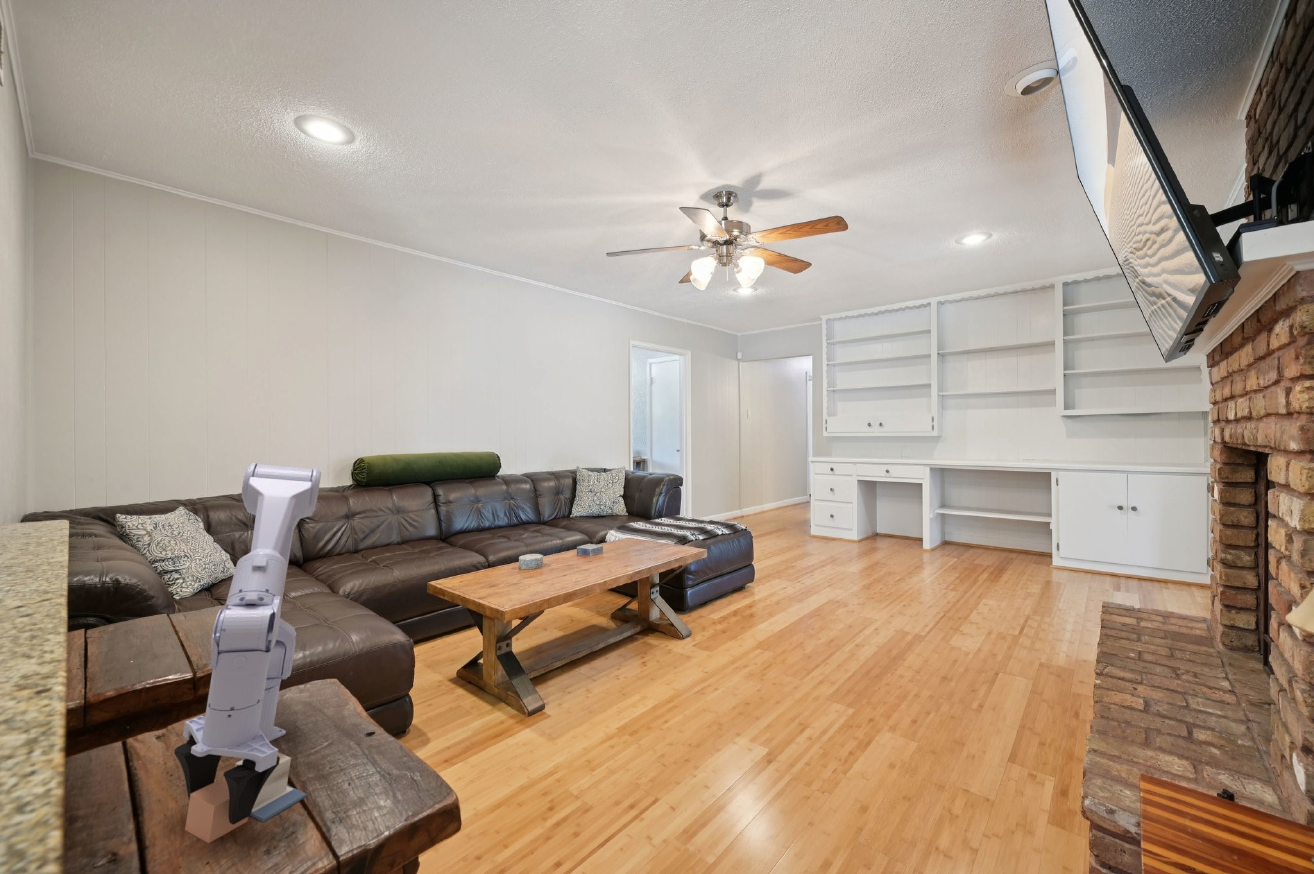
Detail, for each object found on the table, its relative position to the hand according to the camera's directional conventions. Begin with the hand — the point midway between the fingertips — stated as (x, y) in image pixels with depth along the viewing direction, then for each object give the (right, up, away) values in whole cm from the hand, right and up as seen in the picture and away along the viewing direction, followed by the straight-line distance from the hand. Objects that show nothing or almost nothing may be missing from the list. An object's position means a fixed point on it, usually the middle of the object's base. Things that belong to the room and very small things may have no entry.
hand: (219, 808), depth 69 cm
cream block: (+1, -2, +6) cm, 6 cm away
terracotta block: (0, -2, 0) cm, 2 cm away
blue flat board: (+1, -2, +6) cm, 7 cm away
